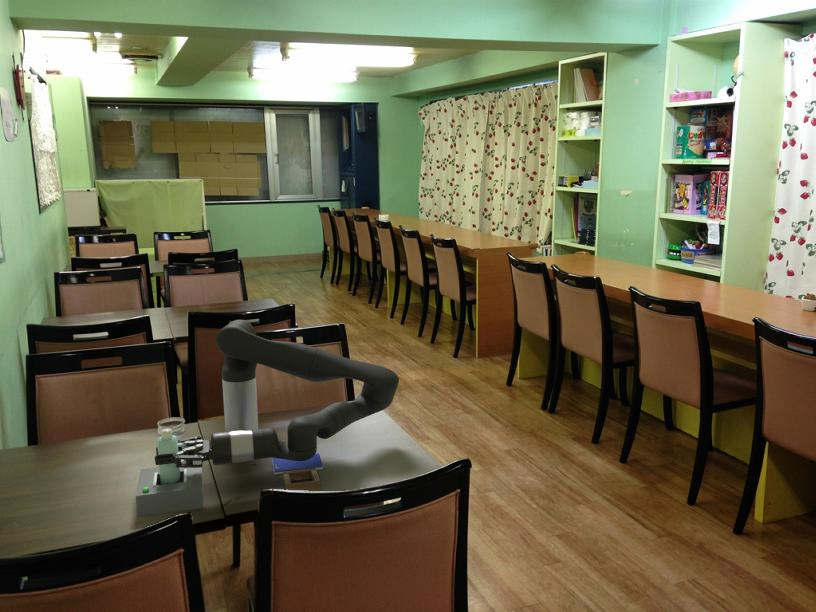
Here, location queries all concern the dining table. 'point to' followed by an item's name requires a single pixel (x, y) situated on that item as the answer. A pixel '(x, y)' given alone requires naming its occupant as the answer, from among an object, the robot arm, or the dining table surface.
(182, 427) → the wineglass
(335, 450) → the dining table surface
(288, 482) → the box
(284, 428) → the dining table surface
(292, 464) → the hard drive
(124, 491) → the dining table surface
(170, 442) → the mint green bottle
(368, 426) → the dining table surface
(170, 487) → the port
